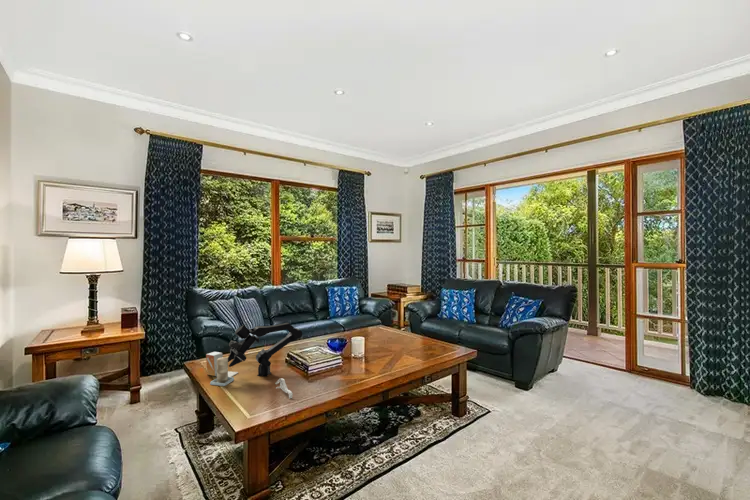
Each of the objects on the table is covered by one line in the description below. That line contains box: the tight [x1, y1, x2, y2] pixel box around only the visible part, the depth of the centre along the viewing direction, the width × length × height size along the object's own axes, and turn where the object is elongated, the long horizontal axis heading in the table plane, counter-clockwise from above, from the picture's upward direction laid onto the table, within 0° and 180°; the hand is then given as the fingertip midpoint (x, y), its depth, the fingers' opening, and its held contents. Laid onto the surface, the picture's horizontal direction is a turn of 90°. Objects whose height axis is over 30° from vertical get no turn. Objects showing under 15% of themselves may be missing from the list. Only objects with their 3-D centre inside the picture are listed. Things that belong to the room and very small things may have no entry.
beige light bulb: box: [216, 357, 229, 383], centre depth 211 cm, size 6×6×14 cm
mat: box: [228, 370, 239, 378], centre depth 223 cm, size 9×9×1 cm
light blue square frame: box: [209, 376, 235, 387], centre depth 211 cm, size 9×9×2 cm
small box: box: [205, 351, 223, 377], centre depth 224 cm, size 8×6×13 cm
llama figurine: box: [274, 378, 293, 400], centre depth 197 cm, size 2×11×18 cm
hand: (227, 364), depth 213 cm, fingers open, 9 cm apart
